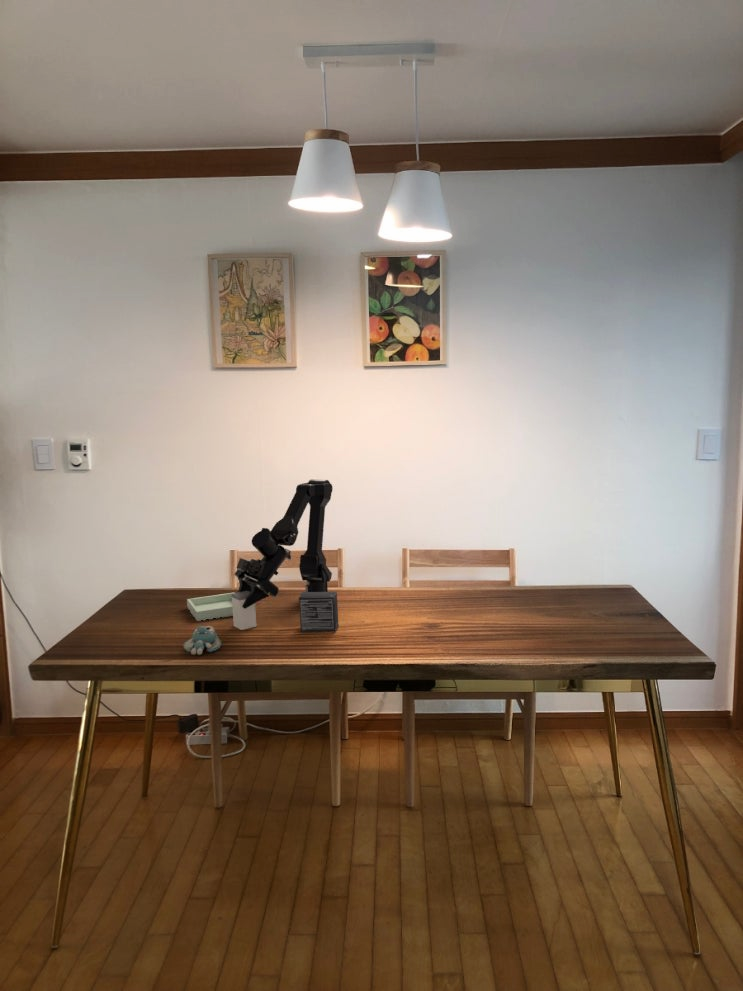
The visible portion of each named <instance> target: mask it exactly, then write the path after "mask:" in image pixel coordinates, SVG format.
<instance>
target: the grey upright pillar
mask: <svg viewBox="0 0 743 991" xmlns="http://www.w3.org/2000/svg"><path fill="white" fill-rule="evenodd" d="M232 593H233V594H232V607H233V616H232V618H233V621H232V622H233V627H235V628H236V629H238V630H241V631H244V630H248V629H251V628H256V627H257V614H256V603H254V604H253V605H251V606H249V607H247V608H246V609H244V608H243V607H242V606H243V604H244V602H245V600H246V599H247V597H248V595H249V594H250V592H249V591H242V592H238V591H237V592H235V593H234V592H232Z"/></svg>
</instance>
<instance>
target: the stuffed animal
mask: <svg viewBox="0 0 743 991" xmlns="http://www.w3.org/2000/svg"><path fill="white" fill-rule="evenodd" d="M221 645H222V640H221V639H220V638H219V637H218V635H217V632H216V630H215V628H214V626H212V625H207V626H205V625H199V626H198V627H197V628H196V629H195V630H193V634H192V637H191V638H190V639H188V640H186V641H185V642H184V643H183V644H182V647H183V648H184V650H185V651H186V652H188V653H190V654H191V655H194V656H195V655H196V654H197V656H198V655H199V656H200V655H202V654H203V651H204V650H206V652H208V653H212V652H213V651H214V652H216V651H217V650H218V649H220V647H221ZM205 647H206V648H205Z"/></svg>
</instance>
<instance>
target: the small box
mask: <svg viewBox="0 0 743 991" xmlns="http://www.w3.org/2000/svg"><path fill="white" fill-rule="evenodd" d="M298 602H299V604H298V605H299V619H300V621H299V623H300V632H301V633H315V632H314V631H318V632H317V633H322V631H324V632H323V633H325V631H327V632H326V633H329V631H334V632H335V633H336V631H337V630H338V627H339V625H340V624H339V607H338V591H328V592H304V591H302V592H301V594H300V595H299V597H298ZM311 631H312V632H311Z"/></svg>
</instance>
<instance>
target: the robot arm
mask: <svg viewBox="0 0 743 991" xmlns="http://www.w3.org/2000/svg"><path fill="white" fill-rule="evenodd" d="M332 492H333V484H332V483H331V482H330V480H328V479H309V480H308V482H303V483H300V484H297V486H296V489H295V493H294V495H293V496H292V499H291V501H290V504H288V507H287V509H286V511H285V513H284V516H283V517H282V518H280V519H279V520H278V521H277V522H275V524H274V526H273V527H272V528H271V530H270V529H269V528H267V527H262V528H261V530H260V531H258V532H257V533H255V534H254V536H252V539H251V545H252V546H253V548H255V549H256V550H257V551H258V553H260V555H261V556H263V557H262V558H261V559H259V558H258V559H254V558H251V559H250V560H248V559H245V558H242V557H239V559H238V563H237V565H236V569H237V570H236V571H235V572H234V576H235V577H237V580H238V582H239V586H238V590H237V592H242V591H249V592H250V594H249V595H248V597H247V599H246V600H245V602H244V604H243V606H242V607H243V608H244V609H246V608H247V607H249V606H251V605H253V604H254V603H255V604H256V603H257V602H259V601H262V600H264V599H266V598H268V597H270V596H271V597H274V598H276V597H277V596H278V595H279V592H280V591H279V589H280V588H279V587H278V586H277V585H276V584H275V583H273V582H272V581H271V579H272V578H273V576H274V575H275V576H278V575H279V572H278V570H279V568H280V567H281V565H282V564H283V563H284V561H285V560H286V559H287V560H288V561H291V559H292V554H291V550H290V549H287V548H285V546H286V547H290V546H294V545H295V544H296V541H297V538H298V534H299V530H298V529H299V528H298V526H299V523H300V521H301V518H302V516H303V514H304V512H305V510H306V508H307V506H308V505H309V517H308V519H309V520H308V530H307V531H308V532H307V541H306V543H307V545H306V550H305V551H304V553H303V554H301V555H300V557H299V566H298V567H299V568H298V569H299V573H300V576H301V580H302V581H305V582H306V584H305V585H304V586H305V587H304V588H305V589H304V591H305V592H329V591H328V590H329V589H328V586H329V585H328V583H329V582H330V581H331V580H332V576H333V572H332V571H331V570H330V569H329V568H328V566H327V558H326V557H325V556H326V555H325V554H324V552H323V540H324V529H325V528H324V526H325V513H326V510H325V509H326V507H327V506H328V504H329V502H330V501H331V499H332V498H331V497H332ZM269 595H270V596H269Z"/></svg>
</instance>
